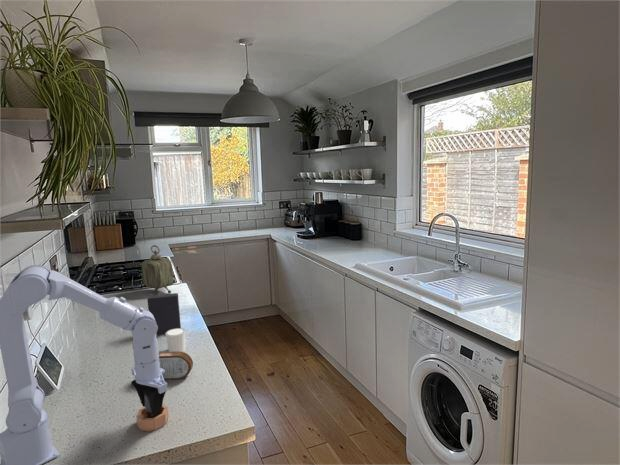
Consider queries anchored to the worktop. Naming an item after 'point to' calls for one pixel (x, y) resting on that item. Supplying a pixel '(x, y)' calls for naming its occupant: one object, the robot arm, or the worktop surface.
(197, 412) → the worktop surface
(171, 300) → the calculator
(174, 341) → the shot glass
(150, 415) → the cell
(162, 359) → the tin
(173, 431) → the worktop surface
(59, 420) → the worktop surface
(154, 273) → the tabletop clock
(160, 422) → the cup
